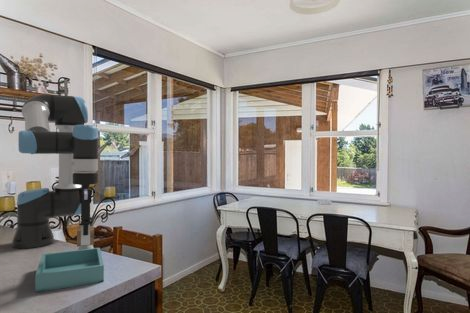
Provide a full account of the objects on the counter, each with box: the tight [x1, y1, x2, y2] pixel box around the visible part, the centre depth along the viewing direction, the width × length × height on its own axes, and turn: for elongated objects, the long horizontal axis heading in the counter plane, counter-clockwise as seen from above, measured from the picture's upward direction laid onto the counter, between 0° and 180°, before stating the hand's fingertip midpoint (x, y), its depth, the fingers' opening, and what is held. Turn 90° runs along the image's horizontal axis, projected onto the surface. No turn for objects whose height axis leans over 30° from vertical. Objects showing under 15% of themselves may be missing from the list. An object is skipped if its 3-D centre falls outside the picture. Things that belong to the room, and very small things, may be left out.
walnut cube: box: [76, 225, 95, 248], centre depth 104 cm, size 5×5×5 cm
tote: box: [34, 247, 105, 293], centre depth 103 cm, size 20×18×5 cm
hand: (85, 242), depth 104 cm, fingers closed on walnut cube, 5 cm apart
